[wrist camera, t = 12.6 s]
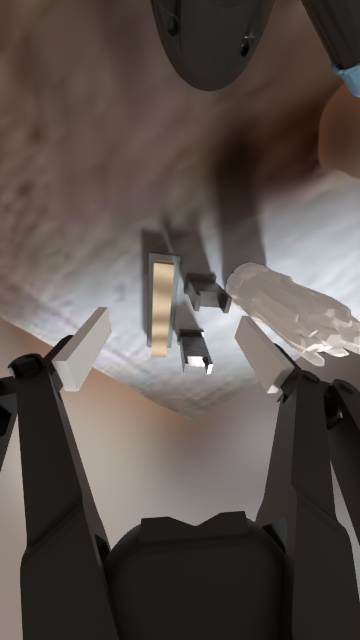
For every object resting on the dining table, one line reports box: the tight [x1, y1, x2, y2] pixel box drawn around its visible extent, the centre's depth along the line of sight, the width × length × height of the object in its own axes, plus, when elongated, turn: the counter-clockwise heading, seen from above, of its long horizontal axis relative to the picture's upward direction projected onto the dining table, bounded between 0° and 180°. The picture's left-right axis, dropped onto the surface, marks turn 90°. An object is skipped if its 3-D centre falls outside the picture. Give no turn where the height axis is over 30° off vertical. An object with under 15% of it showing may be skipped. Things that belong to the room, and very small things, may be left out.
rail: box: [151, 259, 174, 357], centre depth 37 cm, size 24×4×5 cm, turn 173°
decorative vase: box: [226, 263, 360, 366], centre depth 28 cm, size 11×11×25 cm
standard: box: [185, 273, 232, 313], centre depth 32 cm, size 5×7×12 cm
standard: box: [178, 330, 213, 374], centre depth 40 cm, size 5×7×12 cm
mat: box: [148, 253, 181, 348], centre depth 40 cm, size 26×7×1 cm, turn 173°
